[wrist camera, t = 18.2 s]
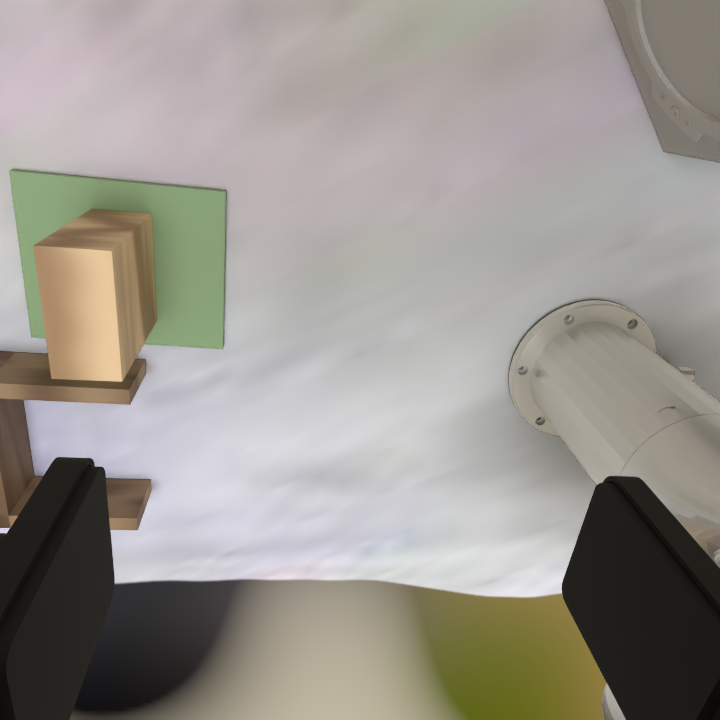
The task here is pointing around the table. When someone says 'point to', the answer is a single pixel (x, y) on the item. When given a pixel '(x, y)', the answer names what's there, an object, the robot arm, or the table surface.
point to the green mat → (171, 246)
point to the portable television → (675, 69)
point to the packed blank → (97, 293)
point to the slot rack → (11, 441)
